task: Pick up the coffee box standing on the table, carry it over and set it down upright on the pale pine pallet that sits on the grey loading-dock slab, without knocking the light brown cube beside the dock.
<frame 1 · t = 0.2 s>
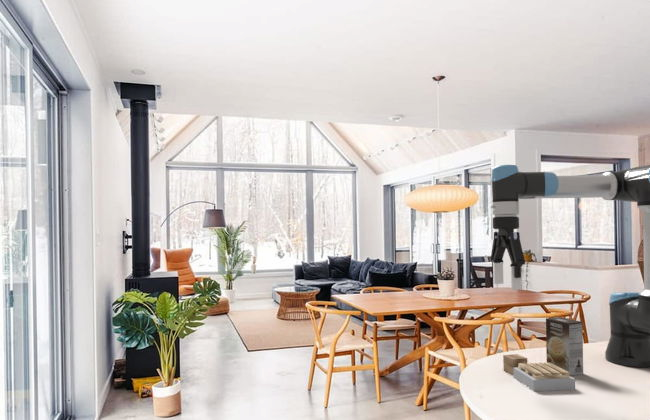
hand: (507, 286, 146), 27 cm above the table, fingers open, 13 cm apart
coffee box: (564, 371, 151), on the table
light brown cube: (515, 372, 150), on the table
pallet: (543, 372, 140), resting on dock
dock: (543, 383, 140), on the table
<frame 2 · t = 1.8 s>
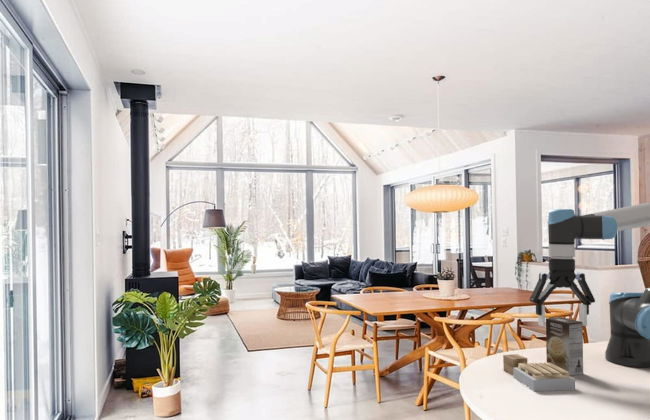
hand: (562, 325, 152), 14 cm above the table, fingers open, 13 cm apart
nothing on the table moved.
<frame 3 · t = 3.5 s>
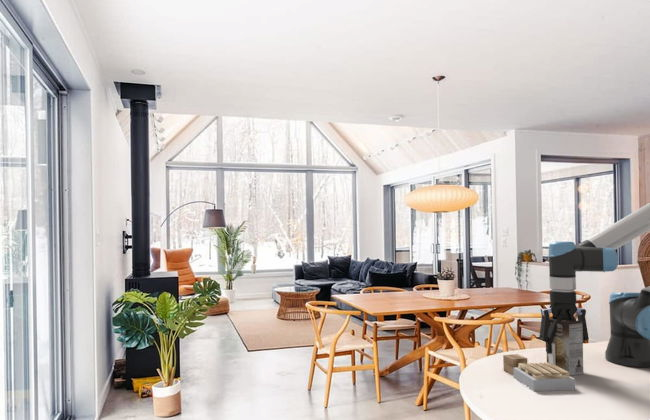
hand: (564, 363, 152), 2 cm above the table, fingers closed on coffee box, 7 cm apart
coffee box: (564, 371, 151), on the table, touching gripper
everything else where it was.
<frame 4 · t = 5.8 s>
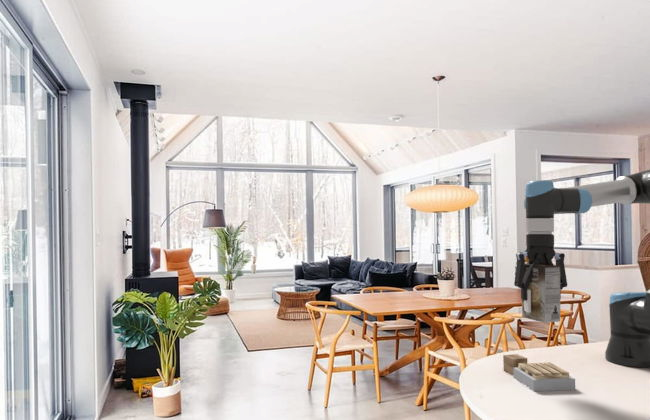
hand: (541, 311, 141), 21 cm above the table, fingers closed on coffee box, 7 cm apart
coffee box: (541, 320, 141), point 18 cm above the table, touching gripper
everything else where it was.
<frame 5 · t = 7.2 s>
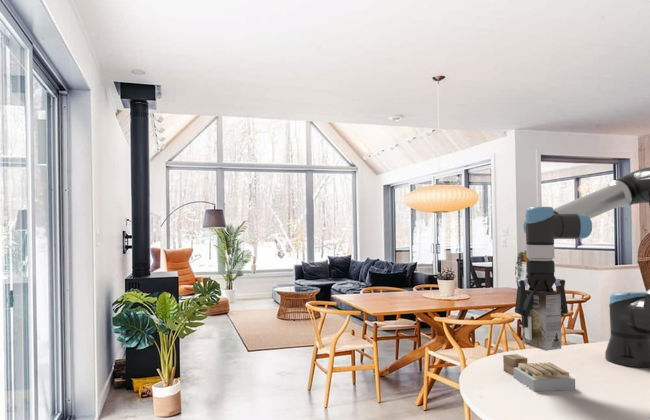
hand: (541, 338, 140), 13 cm above the table, fingers closed on coffee box, 7 cm apart
coffee box: (541, 347, 140), point 10 cm above the table, touching gripper
everything else where it was.
when the fingers open (9 cm above the table, at t = 8.4 s): coffee box drops 2 cm, resting on pallet.
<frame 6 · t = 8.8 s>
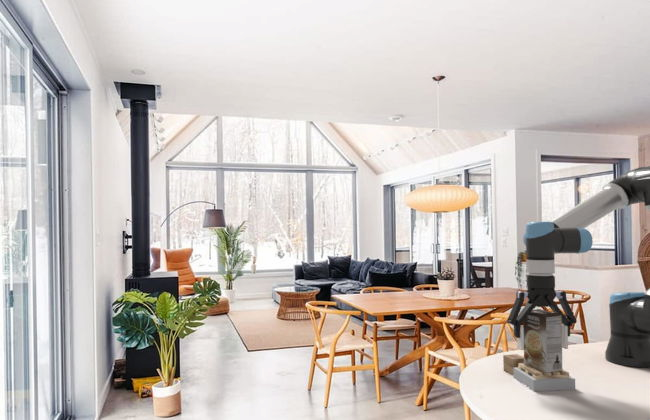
hand: (542, 348, 140), 10 cm above the table, fingers open, 12 cm apart
coffee box: (542, 368, 140), point 4 cm above the table, touching pallet
everything else where it was.
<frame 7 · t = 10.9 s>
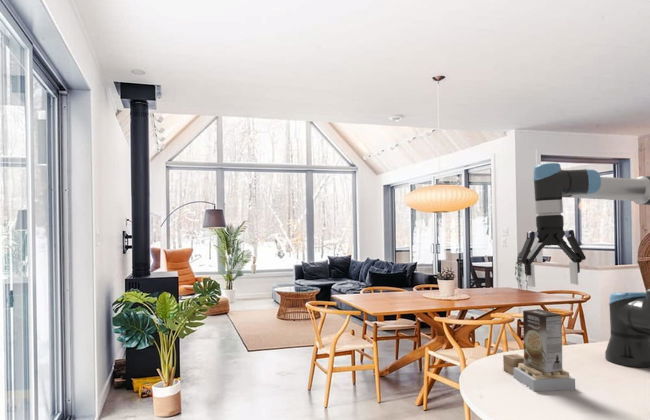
hand: (553, 285, 145), 28 cm above the table, fingers open, 13 cm apart
nothing on the table moved.
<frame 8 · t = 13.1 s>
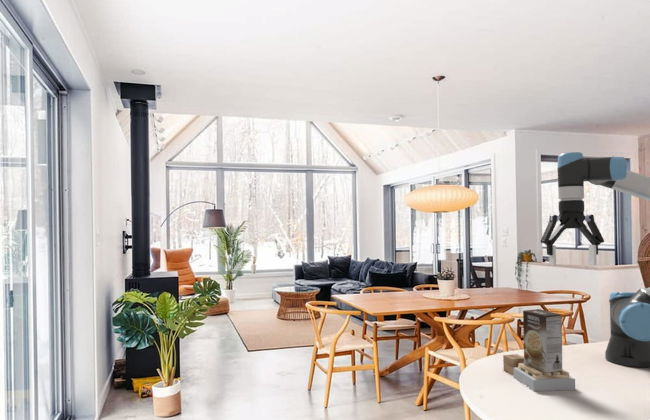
hand: (572, 265, 157), 33 cm above the table, fingers open, 13 cm apart
nothing on the table moved.
at the end: coffee box inside the target area on the dock (0.1 cm from its centre), point 4.3 cm above the dock's base; coffee box tilted 0°; light brown cube moved 0.1 cm from its start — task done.
